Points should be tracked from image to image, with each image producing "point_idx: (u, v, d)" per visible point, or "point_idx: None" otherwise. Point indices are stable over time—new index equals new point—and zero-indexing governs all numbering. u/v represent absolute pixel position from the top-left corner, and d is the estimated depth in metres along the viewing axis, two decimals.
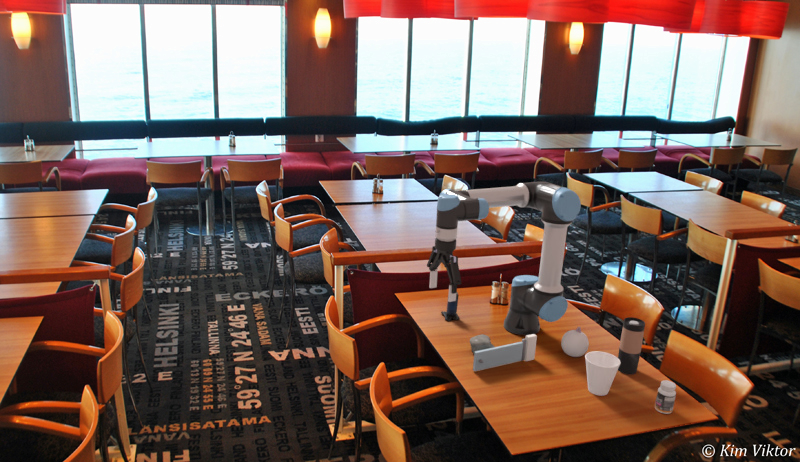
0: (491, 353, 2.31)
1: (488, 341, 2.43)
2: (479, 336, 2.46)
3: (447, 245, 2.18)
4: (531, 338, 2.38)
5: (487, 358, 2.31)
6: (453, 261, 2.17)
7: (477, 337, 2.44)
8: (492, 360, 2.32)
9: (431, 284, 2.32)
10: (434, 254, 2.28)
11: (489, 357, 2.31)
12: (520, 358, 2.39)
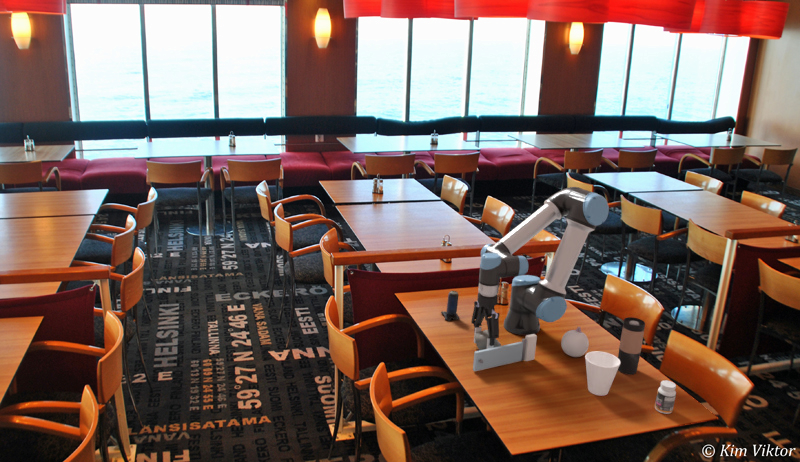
0: (491, 353, 2.31)
1: None
2: (484, 332, 2.46)
3: (490, 300, 2.36)
4: (531, 338, 2.38)
5: (487, 358, 2.31)
6: (495, 318, 2.35)
7: (482, 333, 2.45)
8: (492, 360, 2.32)
9: None
10: (477, 309, 2.46)
11: (489, 357, 2.31)
12: (520, 358, 2.39)
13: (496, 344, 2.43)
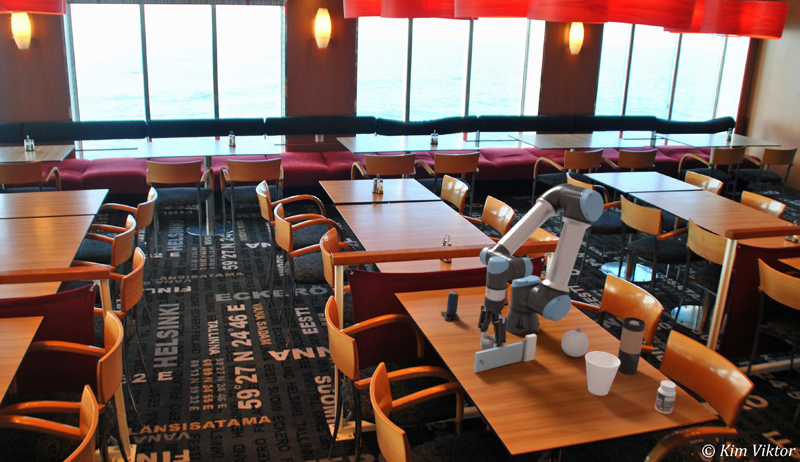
0: (492, 353, 2.31)
1: None
2: (490, 336, 2.42)
3: (497, 304, 2.31)
4: (531, 338, 2.38)
5: (488, 359, 2.31)
6: (502, 322, 2.31)
7: (489, 338, 2.40)
8: (493, 360, 2.32)
9: None
10: (483, 313, 2.41)
11: (490, 357, 2.31)
12: (520, 359, 2.39)
13: None
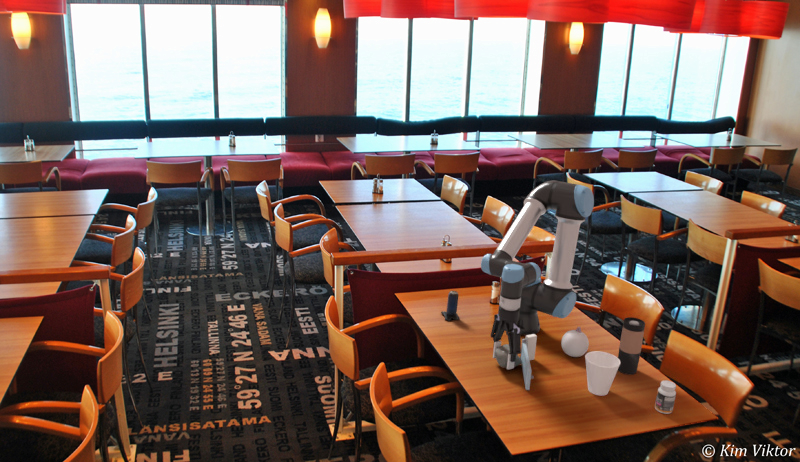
0: None
1: None
2: (504, 347, 2.34)
3: (511, 314, 2.24)
4: (531, 338, 2.38)
5: None
6: (516, 333, 2.23)
7: (503, 348, 2.33)
8: None
9: None
10: (497, 322, 2.34)
11: None
12: None
13: (518, 360, 2.32)
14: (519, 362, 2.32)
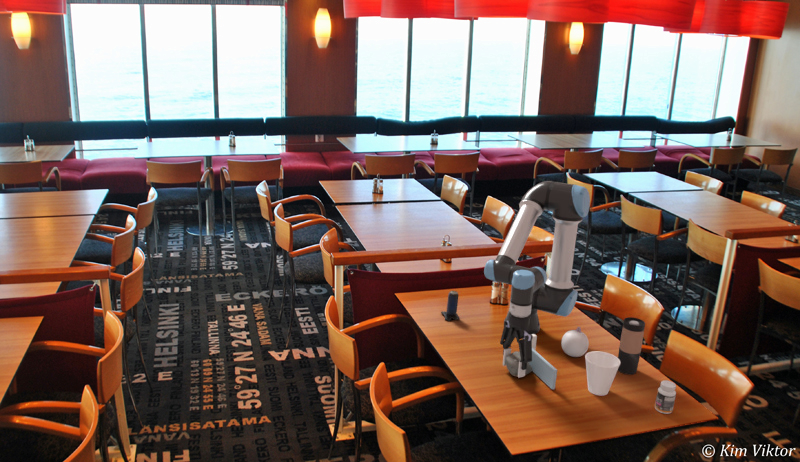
0: None
1: None
2: (515, 354, 2.29)
3: (522, 321, 2.19)
4: None
5: None
6: (527, 340, 2.18)
7: (514, 356, 2.28)
8: None
9: (505, 362, 2.31)
10: (506, 329, 2.29)
11: None
12: None
13: (529, 368, 2.27)
14: (530, 370, 2.28)
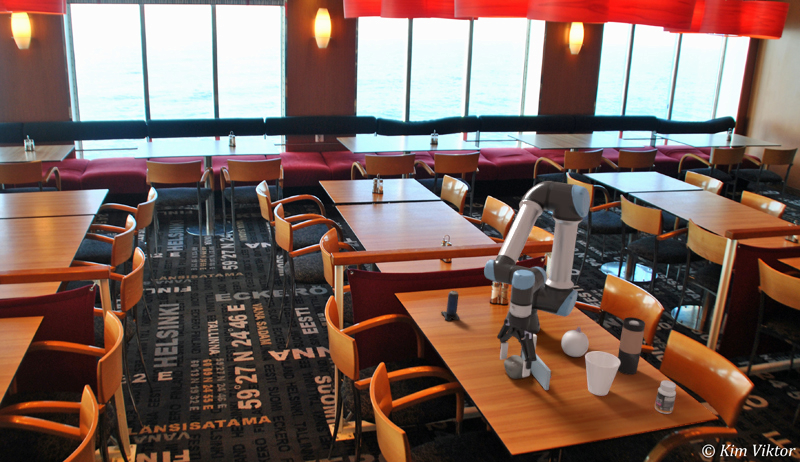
0: None
1: None
2: (513, 357, 2.30)
3: (522, 321, 2.19)
4: None
5: None
6: (528, 338, 2.17)
7: (512, 359, 2.29)
8: None
9: (502, 356, 2.33)
10: (506, 327, 2.29)
11: None
12: None
13: None
14: None
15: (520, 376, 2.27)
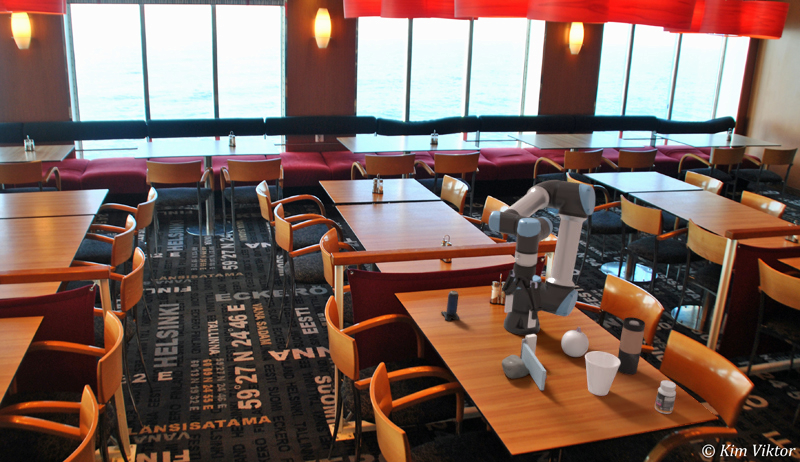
0: None
1: (522, 362, 2.28)
2: (511, 357, 2.30)
3: (528, 270, 2.13)
4: (531, 338, 2.38)
5: None
6: (534, 287, 2.12)
7: (510, 359, 2.29)
8: None
9: (506, 308, 2.27)
10: (511, 278, 2.24)
11: None
12: None
13: (526, 370, 2.28)
14: (527, 372, 2.29)
15: (518, 376, 2.27)
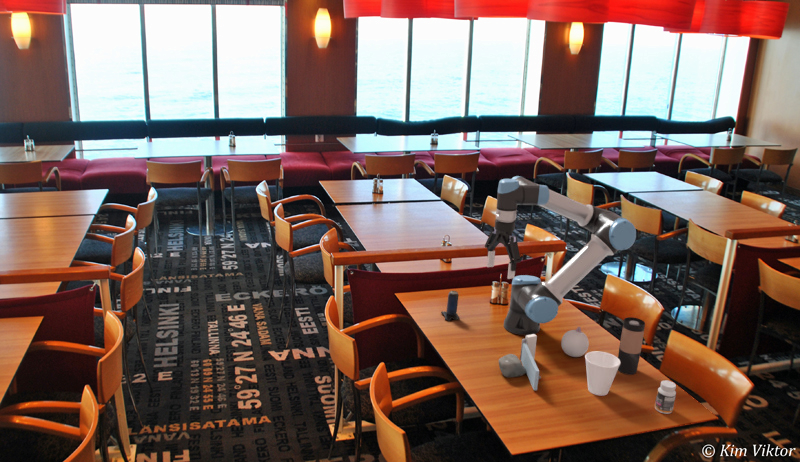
0: None
1: (519, 361, 2.28)
2: (508, 356, 2.31)
3: (507, 225, 2.35)
4: (531, 338, 2.38)
5: None
6: (513, 241, 2.33)
7: (507, 358, 2.29)
8: None
9: (489, 263, 2.49)
10: (492, 235, 2.45)
11: None
12: None
13: (522, 369, 2.28)
14: (523, 371, 2.29)
15: (513, 375, 2.27)
